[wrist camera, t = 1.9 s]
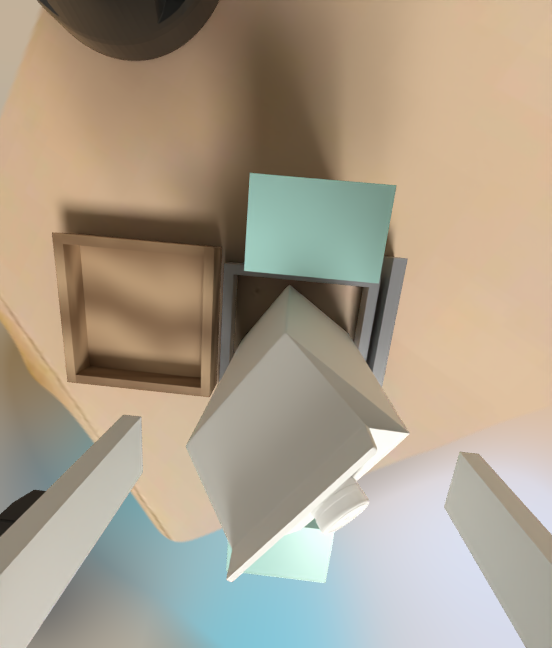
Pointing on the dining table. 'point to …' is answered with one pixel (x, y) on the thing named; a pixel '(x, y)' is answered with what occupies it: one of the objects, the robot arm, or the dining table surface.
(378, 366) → the holder
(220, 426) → the milk carton
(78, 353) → the tray
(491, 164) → the dining table surface
